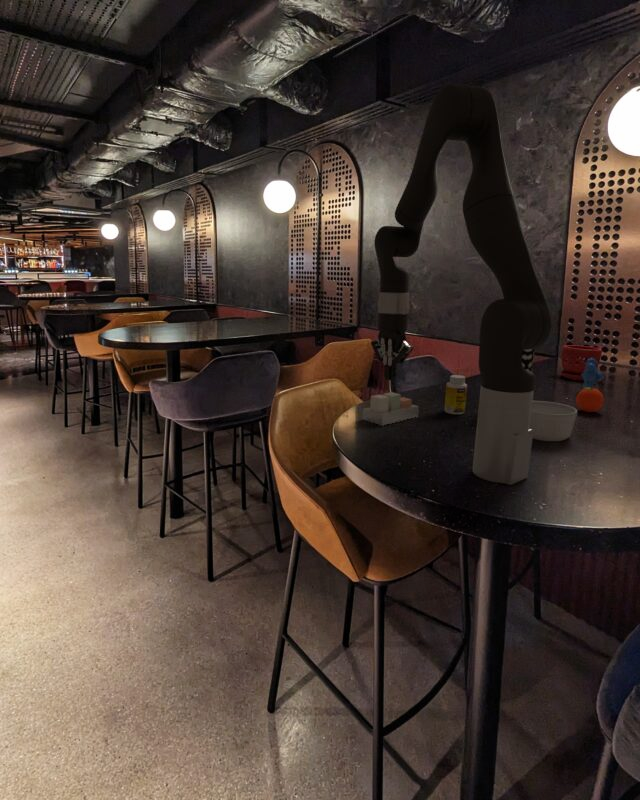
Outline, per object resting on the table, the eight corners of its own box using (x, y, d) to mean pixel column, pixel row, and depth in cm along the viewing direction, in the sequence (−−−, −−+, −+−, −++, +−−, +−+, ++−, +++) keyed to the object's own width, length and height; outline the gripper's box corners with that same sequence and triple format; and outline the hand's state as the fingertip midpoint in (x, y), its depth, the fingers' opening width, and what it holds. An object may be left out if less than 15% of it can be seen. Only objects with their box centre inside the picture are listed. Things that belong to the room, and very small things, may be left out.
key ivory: (387, 412, 129) (388, 397, 128) (379, 414, 127) (379, 398, 126) (378, 409, 132) (379, 394, 131) (370, 411, 130) (370, 396, 129)
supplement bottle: (455, 416, 136) (458, 379, 134) (439, 411, 141) (442, 375, 138) (469, 413, 139) (472, 377, 137) (453, 408, 144) (456, 373, 141)
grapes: (601, 398, 159) (607, 361, 156) (577, 395, 162) (583, 359, 159) (601, 391, 169) (607, 356, 166) (579, 389, 172) (584, 354, 169)
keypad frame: (418, 417, 135) (418, 406, 134) (382, 426, 126) (382, 414, 125) (398, 411, 140) (398, 400, 139) (362, 419, 131) (362, 408, 130)
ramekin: (502, 429, 126) (505, 402, 124) (544, 424, 130) (547, 398, 129) (542, 446, 114) (546, 416, 112) (586, 440, 118) (590, 411, 117)
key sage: (399, 409, 132) (400, 394, 131) (391, 411, 130) (392, 396, 129) (390, 406, 135) (391, 392, 134) (382, 408, 133) (383, 393, 132)
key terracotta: (410, 413, 136) (411, 399, 135) (402, 415, 134) (403, 401, 133) (401, 411, 138) (402, 397, 137) (393, 413, 136) (394, 398, 135)
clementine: (565, 409, 146) (569, 385, 144) (581, 406, 149) (585, 383, 147) (591, 416, 139) (595, 391, 137) (607, 413, 142) (611, 388, 140)
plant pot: (596, 383, 181) (601, 350, 178) (556, 379, 188) (560, 347, 185) (598, 377, 192) (603, 346, 189) (560, 373, 199) (565, 343, 196)
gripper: (363, 310, 128) (361, 377, 132) (402, 313, 118) (398, 386, 122) (384, 309, 132) (381, 374, 136) (423, 312, 122) (419, 382, 126)
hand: (389, 379), depth 129 cm, fingers closed
